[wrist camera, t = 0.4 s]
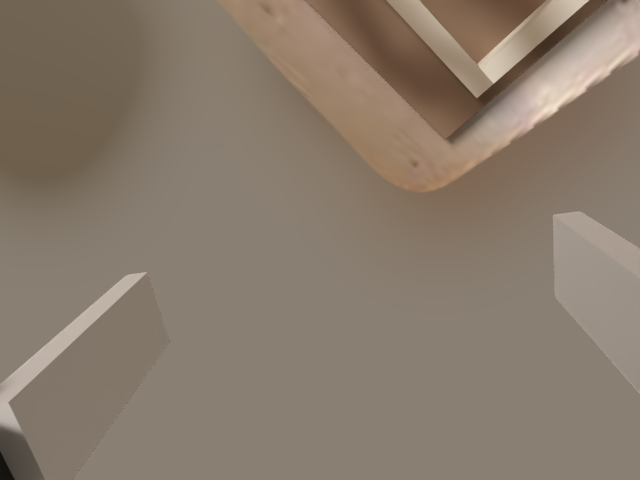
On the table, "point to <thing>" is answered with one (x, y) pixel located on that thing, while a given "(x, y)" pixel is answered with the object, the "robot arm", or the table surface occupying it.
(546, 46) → the locating board
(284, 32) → the table surface
